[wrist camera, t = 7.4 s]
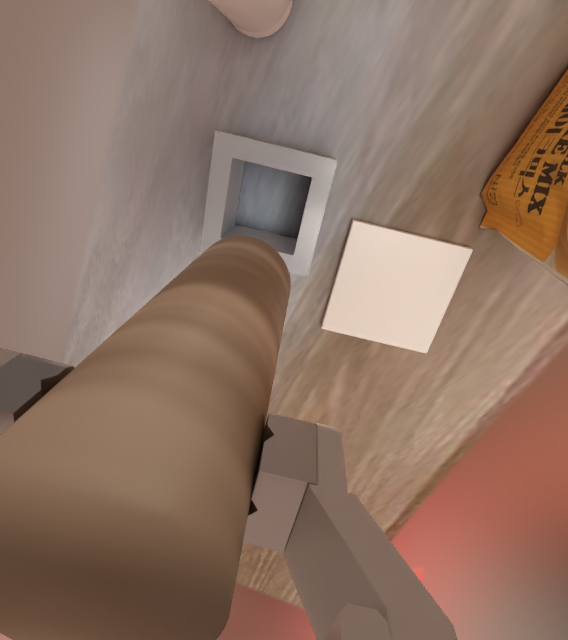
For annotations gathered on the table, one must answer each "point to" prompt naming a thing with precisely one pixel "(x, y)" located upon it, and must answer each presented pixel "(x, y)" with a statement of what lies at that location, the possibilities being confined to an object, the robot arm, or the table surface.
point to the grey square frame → (227, 188)
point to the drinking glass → (255, 15)
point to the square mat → (393, 286)
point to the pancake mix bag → (535, 187)
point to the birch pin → (146, 463)
